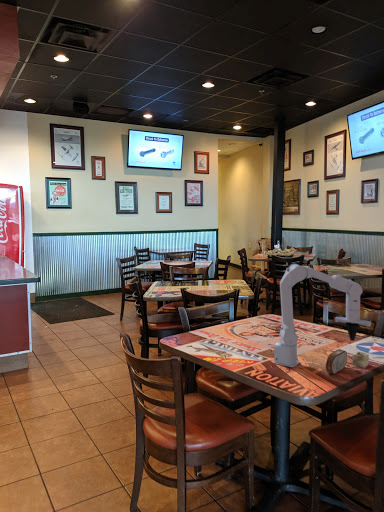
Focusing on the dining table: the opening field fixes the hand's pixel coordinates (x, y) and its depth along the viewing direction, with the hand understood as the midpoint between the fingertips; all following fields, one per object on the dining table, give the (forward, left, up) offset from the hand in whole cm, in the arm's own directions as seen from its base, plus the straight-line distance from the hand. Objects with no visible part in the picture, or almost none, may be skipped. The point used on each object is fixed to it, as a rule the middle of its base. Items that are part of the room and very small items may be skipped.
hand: (352, 340), depth 170 cm
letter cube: (+4, 0, -10) cm, 11 cm away
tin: (-2, -13, -11) cm, 17 cm away
